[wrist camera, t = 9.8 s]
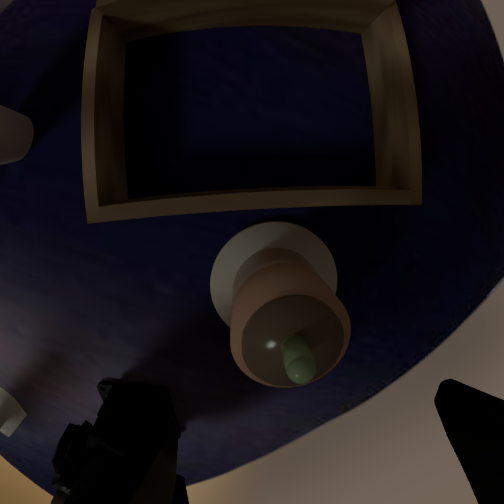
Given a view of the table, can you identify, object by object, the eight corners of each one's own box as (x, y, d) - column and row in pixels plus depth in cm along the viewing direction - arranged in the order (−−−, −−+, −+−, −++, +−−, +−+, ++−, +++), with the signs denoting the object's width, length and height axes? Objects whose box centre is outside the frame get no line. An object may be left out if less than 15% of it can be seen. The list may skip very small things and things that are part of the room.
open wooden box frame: (386, 197, 19) (523, 231, 7) (118, 212, 18) (-9, 263, 7) (363, 1, 15) (441, -85, 3) (120, 9, 14) (46, -82, 3)
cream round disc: (331, 331, 21) (333, 335, 20) (217, 341, 21) (217, 345, 20) (335, 217, 19) (338, 219, 18) (205, 224, 19) (204, 226, 18)
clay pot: (316, 324, 20) (361, 415, 11) (235, 330, 20) (235, 431, 11) (318, 245, 19) (382, 303, 10) (229, 250, 19) (221, 317, 10)
